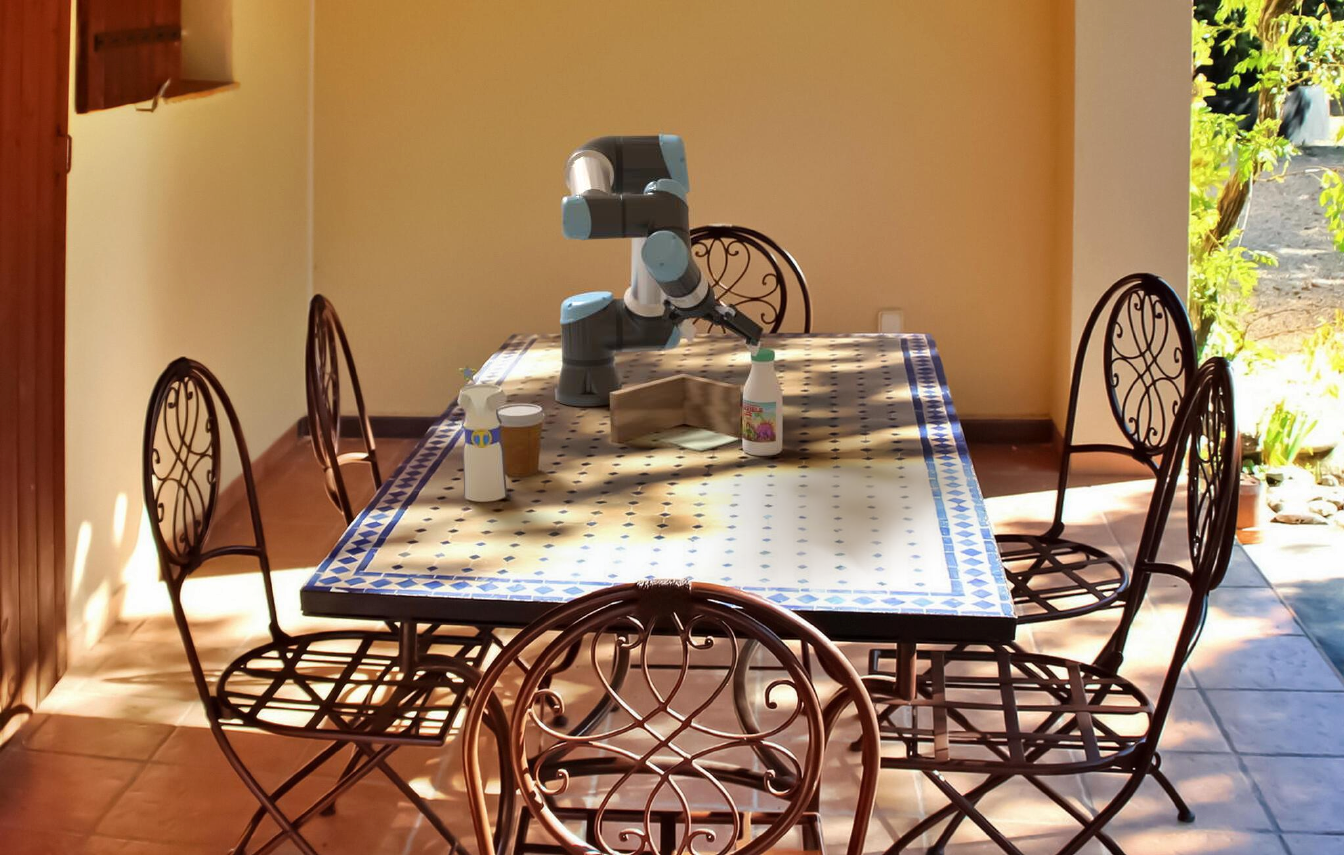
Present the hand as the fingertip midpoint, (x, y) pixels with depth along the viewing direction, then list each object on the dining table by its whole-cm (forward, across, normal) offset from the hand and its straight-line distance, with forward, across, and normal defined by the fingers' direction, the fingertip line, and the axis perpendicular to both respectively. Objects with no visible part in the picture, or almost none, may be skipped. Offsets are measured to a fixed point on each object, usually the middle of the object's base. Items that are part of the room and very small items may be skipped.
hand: (724, 342), depth 273 cm
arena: (+18, -10, -15) cm, 26 cm away
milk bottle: (+16, +8, -14) cm, 23 cm away
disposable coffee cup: (-6, -27, -36) cm, 46 cm away
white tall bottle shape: (-18, -24, -45) cm, 54 cm away
